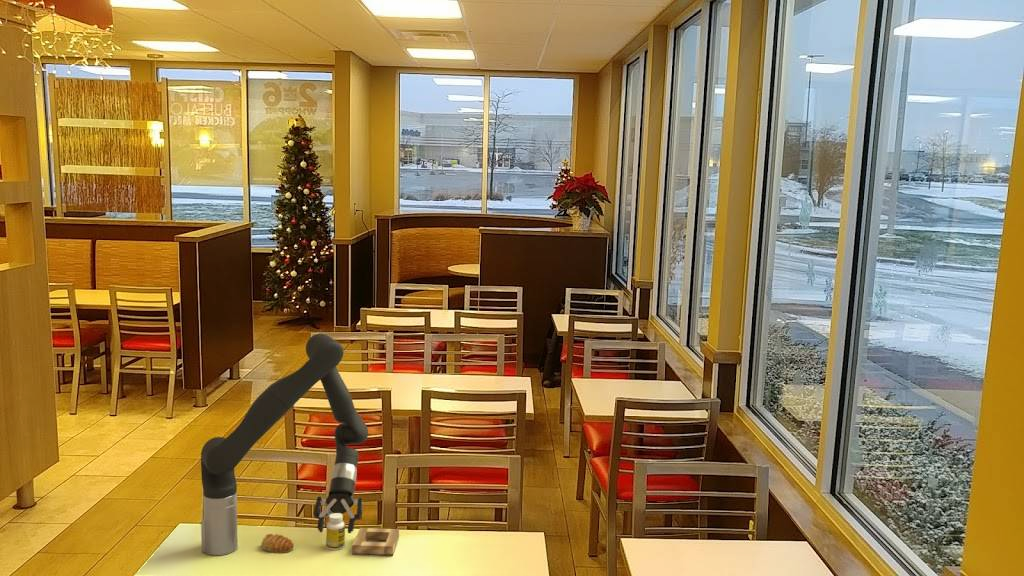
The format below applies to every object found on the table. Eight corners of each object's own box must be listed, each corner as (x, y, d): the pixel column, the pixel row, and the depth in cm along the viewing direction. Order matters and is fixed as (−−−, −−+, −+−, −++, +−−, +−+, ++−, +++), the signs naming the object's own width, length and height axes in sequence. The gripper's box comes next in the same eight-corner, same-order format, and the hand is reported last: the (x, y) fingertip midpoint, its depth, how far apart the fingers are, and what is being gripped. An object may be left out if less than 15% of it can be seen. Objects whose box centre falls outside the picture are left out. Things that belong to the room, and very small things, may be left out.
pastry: (298, 546, 240) (298, 534, 239) (286, 556, 234) (285, 544, 233) (272, 541, 243) (271, 529, 242) (258, 551, 236) (258, 539, 236)
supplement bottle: (340, 551, 237) (340, 520, 236) (323, 549, 238) (323, 518, 237) (347, 543, 242) (347, 512, 241) (330, 541, 244) (331, 511, 242)
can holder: (352, 554, 235) (352, 545, 235) (360, 537, 247) (360, 527, 247) (392, 556, 235) (392, 546, 235) (398, 538, 247) (398, 529, 247)
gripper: (318, 475, 246) (308, 526, 236) (364, 476, 246) (357, 528, 236) (322, 485, 252) (313, 535, 242) (367, 486, 252) (360, 537, 242)
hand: (335, 531), depth 239 cm, fingers open, 8 cm apart
